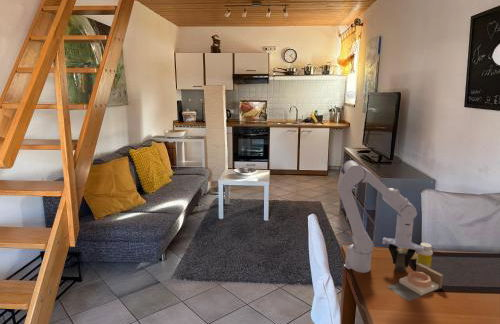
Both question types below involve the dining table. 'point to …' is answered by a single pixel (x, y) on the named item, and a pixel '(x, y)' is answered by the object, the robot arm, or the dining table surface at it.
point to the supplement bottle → (425, 255)
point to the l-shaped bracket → (433, 274)
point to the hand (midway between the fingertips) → (400, 264)
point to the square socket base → (419, 282)
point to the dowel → (400, 260)
